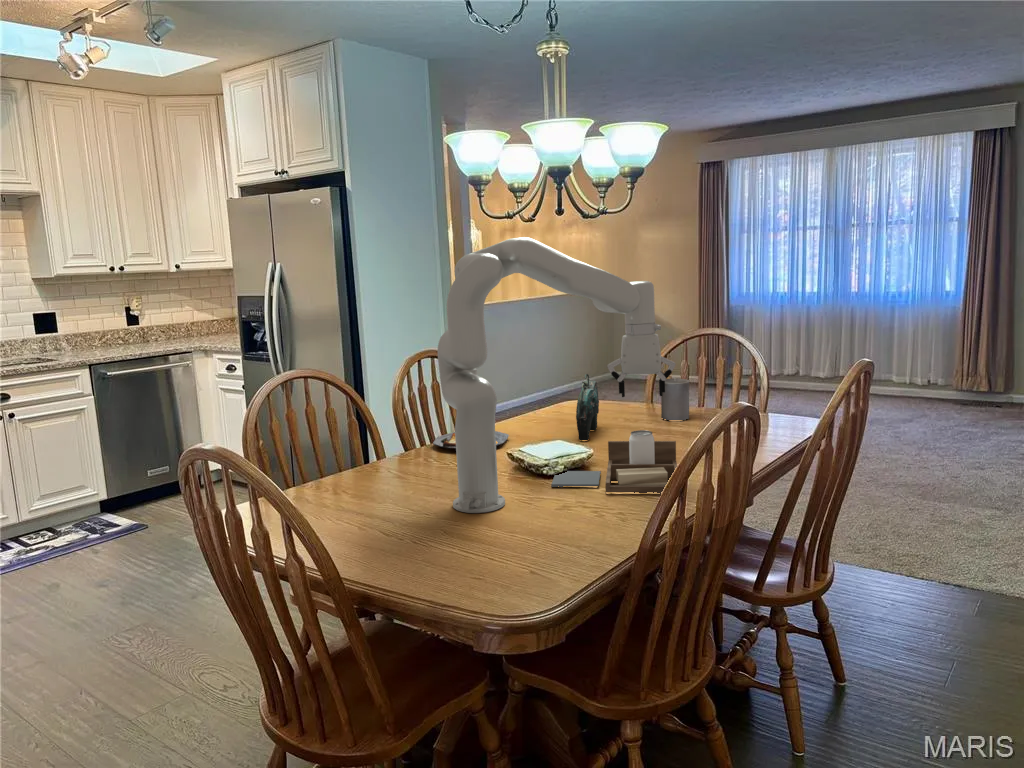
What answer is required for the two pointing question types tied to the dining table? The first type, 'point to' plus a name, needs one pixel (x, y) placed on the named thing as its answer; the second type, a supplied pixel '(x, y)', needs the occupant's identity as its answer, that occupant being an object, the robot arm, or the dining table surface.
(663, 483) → the offcut lower
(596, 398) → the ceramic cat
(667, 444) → the open wooden box
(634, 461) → the can
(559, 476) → the mat
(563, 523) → the dining table surface
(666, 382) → the pillar candle
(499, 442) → the food plate
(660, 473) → the offcut upper
